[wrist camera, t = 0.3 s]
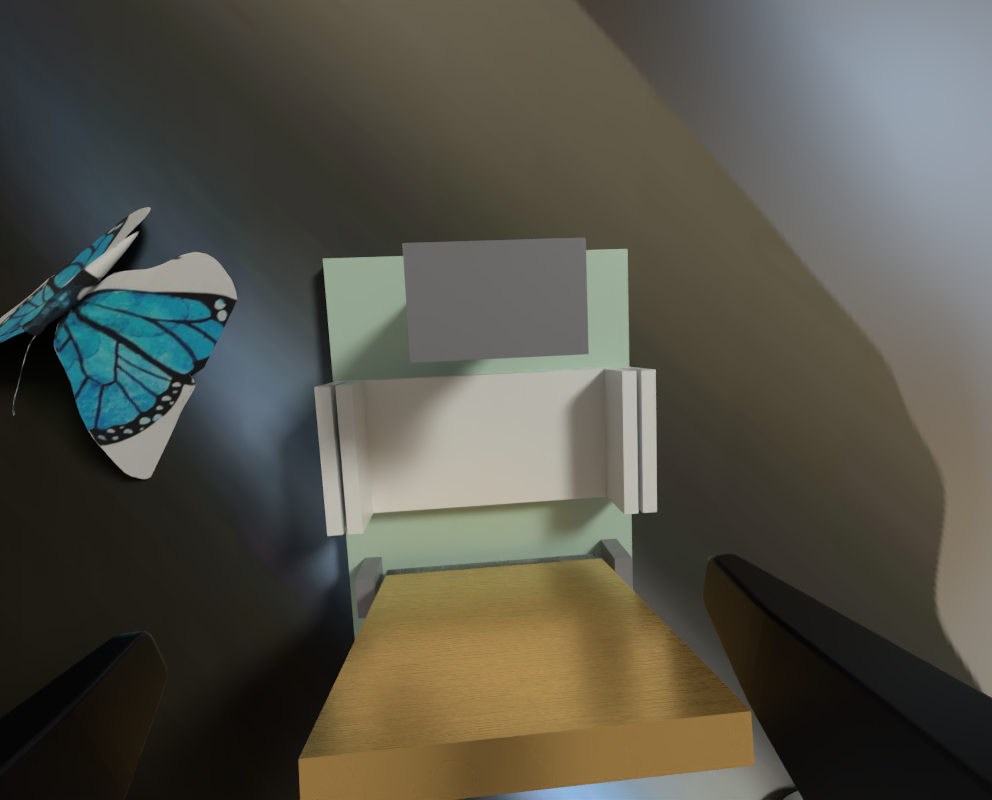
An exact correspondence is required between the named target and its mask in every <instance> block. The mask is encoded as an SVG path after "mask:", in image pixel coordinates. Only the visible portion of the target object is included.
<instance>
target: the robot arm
mask: <svg viewBox="0 0 992 800" xmlns="http://www.w3.org/2000/svg"><path fill="white" fill-rule="evenodd" d="M703 601H704V605H705V608H706V610H707V613H708V615H709V617H710V619H711V622H712V624H713V626H714V628H715V630H716V633H717V635H718V637H719V639H720V642H721V644H722V646H723V648H724V650H725V653H726V655H727V657H728V659H729V662H730V664H731V666H732V668H733V671H734V673H735V675H736V677H737V679H738V682H739V684H740V686H741V688H742V690H743V692H744V694H745V697H746V699H747V701H748V703H749V704H750V706H751V708H752V710H753V712H754V714H755V716H756V717H757V719H758V721H759V723H760V724H761V726H762V728H763V730H764V732H765V733H766V735H767V737H768V739H769V740H770V742H771V744H772V746H773V747H774V749H775V751H776V753H777V754H778V756H779V758H780V760H781V762H782V763H783V765H784V767H785V769H786V770H787V772H788V774H789V776H790V777H791V779H792V781H793V783H794V784H795V786H796V788H797V790H798V791H799V793H800V795H801V797H802V799H803V800H992V698H991V697H989V696H988V695H986V694H984V693H982V692H981V691H979V690H977V689H975V688H973V687H972V686H970V685H968V684H966V683H964V682H963V681H961V680H959V679H957V678H955V677H954V676H952V675H950V674H948V673H947V672H945V671H943V670H941V669H939V668H938V667H936V666H934V665H932V664H930V663H929V662H927V661H925V660H923V659H922V658H920V657H918V656H916V655H914V654H913V653H911V652H909V651H907V650H905V649H904V648H902V647H900V646H898V645H896V644H895V643H893V642H891V641H889V640H888V639H886V638H884V637H882V636H880V635H879V634H877V633H875V632H873V631H871V630H870V629H868V628H866V627H864V626H863V625H861V624H859V623H857V622H855V621H854V620H852V619H850V618H848V617H846V616H845V615H843V614H841V613H839V612H837V611H836V610H834V609H832V608H830V607H829V606H827V605H825V604H823V603H821V602H820V601H818V600H816V599H814V598H812V597H811V596H809V595H807V594H805V593H804V592H802V591H800V590H798V589H796V588H795V587H793V586H791V585H789V584H787V583H786V582H784V581H782V580H780V579H778V578H777V577H775V576H773V575H771V574H770V573H768V572H766V571H764V570H762V569H761V568H759V567H757V566H755V565H753V564H752V563H750V562H748V561H746V560H745V559H743V558H741V557H739V556H737V555H735V554H723V555H716V556H711V557H709V559H708V560H707V563H706V570H705V579H704V587H703ZM166 681H167V667H166V664H165V662H164V660H163V658H162V656H161V654H160V652H159V649H158V647H157V645H156V643H155V641H154V639H153V637H152V635H151V634H150V633H148V632H147V631H138V632H130V633H123V634H119V635H116V636H114V637H113V638H111V639H110V640H108V641H107V642H106V643H104V644H103V645H101V646H100V647H99V648H97V649H96V650H94V651H93V652H92V653H90V654H89V655H88V656H86V657H85V658H83V659H82V660H81V661H79V662H78V663H76V664H75V665H74V666H72V667H71V668H70V669H68V670H67V671H65V672H64V673H63V674H61V675H60V676H59V677H57V678H56V679H54V680H53V681H52V682H50V683H49V684H47V685H46V686H45V687H43V688H42V689H41V690H39V691H38V692H36V693H35V694H34V695H32V696H31V697H29V698H28V699H27V700H25V701H24V702H23V703H21V704H20V705H18V706H17V707H16V708H14V709H13V710H12V711H10V712H9V713H7V714H6V715H5V716H3V717H2V718H0V800H124V799H125V797H126V794H127V792H128V789H129V786H130V784H131V781H132V779H133V776H134V773H135V770H136V767H137V765H138V762H139V759H140V756H141V753H142V750H143V748H144V745H145V742H146V739H147V736H148V733H149V731H150V728H151V725H152V722H153V719H154V716H155V714H156V711H157V708H158V705H159V702H160V699H161V697H162V694H163V691H164V688H165V685H166Z"/></svg>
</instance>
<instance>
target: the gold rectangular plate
mask: <svg viewBox="0 0 992 800" xmlns="http://www.w3.org/2000/svg"><path fill="white" fill-rule="evenodd" d="M751 765H755V763H754V748H753V734H752V720H751V711H750V710H749V709H748V708H747V707H746V706H745V705H744V704H743V703H742V702H741V701H740V699H739V698H738V697H737V696H736V695H735V694H734V693H733V692H732V691H731V690H730V689H729V688H728V687H727V686H726V685H725V684H724V683H723V682H722V681H721V680H720V679H719V678H718V677H717V676H716V675H715V674H714V673H713V672H712V671H711V670H710V669H709V668H708V667H707V666H706V665H705V664H704V663H703V662H702V661H701V660H700V658H699V657H698V656H697V655H696V654H695V653H694V652H693V651H692V650H691V649H690V648H689V647H688V646H687V645H686V644H685V643H684V642H683V641H682V640H681V639H680V638H679V637H678V636H677V635H676V634H675V633H674V632H673V631H672V630H671V629H670V628H669V627H668V626H667V625H666V624H665V623H664V622H663V621H662V620H661V619H660V617H659V616H658V615H657V614H656V613H655V612H654V611H653V610H652V609H651V608H650V607H649V606H648V605H647V604H646V603H645V602H644V601H643V600H642V599H641V598H640V597H639V596H638V595H637V594H636V593H635V592H634V591H633V590H632V589H631V588H630V587H629V586H628V585H627V584H626V583H625V582H624V581H623V580H622V579H621V578H620V576H619V575H618V574H617V573H616V572H615V571H614V570H613V569H612V568H611V567H610V566H609V565H608V564H607V563H606V562H605V561H604V560H603V559H602V558H601V556H600V554H599V553H594V554H581V555H568V556H556V557H543V558H531V559H518V560H505V561H493V562H480V563H467V564H455V565H442V566H429V567H417V568H404V569H391V570H387V572H386V576H385V578H384V580H383V582H382V585H381V587H380V589H379V591H378V593H377V595H376V597H375V599H374V601H373V604H372V606H371V608H370V610H369V612H368V614H367V616H366V618H365V620H364V622H363V625H362V627H361V629H360V631H359V633H358V635H357V637H356V639H355V641H354V643H353V646H352V648H351V650H350V652H349V654H348V656H347V658H346V660H345V662H344V664H343V667H342V669H341V671H340V673H339V675H338V677H337V679H336V681H335V683H334V686H333V688H332V690H331V692H330V694H329V696H328V698H327V700H326V702H325V704H324V707H323V709H322V711H321V713H320V715H319V717H318V719H317V721H316V723H315V725H314V728H313V730H312V732H311V734H310V736H309V738H308V740H307V742H306V744H305V747H304V749H303V751H302V753H301V755H300V757H299V781H300V800H454V799H463V798H472V797H480V796H489V795H498V794H507V793H515V792H524V791H533V790H542V789H550V788H559V787H568V786H577V785H585V784H594V783H603V782H611V781H620V780H629V779H638V778H646V777H655V776H664V775H673V774H681V773H690V772H699V771H707V770H716V769H725V768H734V767H742V766H751Z"/></svg>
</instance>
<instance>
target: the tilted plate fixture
mask: <svg viewBox="0 0 992 800" xmlns="http://www.w3.org/2000/svg"><path fill="white" fill-rule="evenodd" d="M402 245H403V256H392V257H361V258H330V259H323V268H324V280H325V292H326V304H327V315H328V327H329V339H330V351H331V363H332V375H333V382H331V383H328V384H324V385H320V386H316V387H314V391H315V403H316V414H317V425H318V436H319V448H320V459H321V470H322V481H323V493H324V504H325V515H326V527H327V536H336V535H343V534H344V532H345V530H346V541H347V553H348V565H349V576H350V588H351V600H352V612H353V624H354V636H355V639H356V637H357V635H358V633H359V631H360V629H361V627H362V625H363V622H364V620H365V618H366V616H367V614H368V612H369V610H370V608H371V606H372V604H373V601H374V599H375V597H376V595H377V593H378V591H379V589H380V587H381V585H382V582H383V580H384V578H385V576H386V572H387V570H391V569H404V568H417V567H429V566H442V565H455V564H467V563H480V562H493V561H505V560H518V559H531V558H543V557H556V556H568V555H581V554H594V553H599V554H600V556H601V558H602V559H603V560H604V561H605V562H606V563H607V564H608V565H609V566H610V567H611V568H612V569H613V570H614V571H615V572H616V573H617V574H618V575H619V576H620V578H621V579H622V580H623V581H624V582H625V583H626V584H627V585H628V586H629V587H630V588H631V589H632V590H633V586H632V520H631V514H636V513H638V509H639V510H640V511H641V512H643V513H650V512H657V462H656V370H654V369H645V368H636V367H629V319H628V253H627V249H609V250H586V238H557V239H524V240H491V241H458V242H425V243H402Z"/></svg>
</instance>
